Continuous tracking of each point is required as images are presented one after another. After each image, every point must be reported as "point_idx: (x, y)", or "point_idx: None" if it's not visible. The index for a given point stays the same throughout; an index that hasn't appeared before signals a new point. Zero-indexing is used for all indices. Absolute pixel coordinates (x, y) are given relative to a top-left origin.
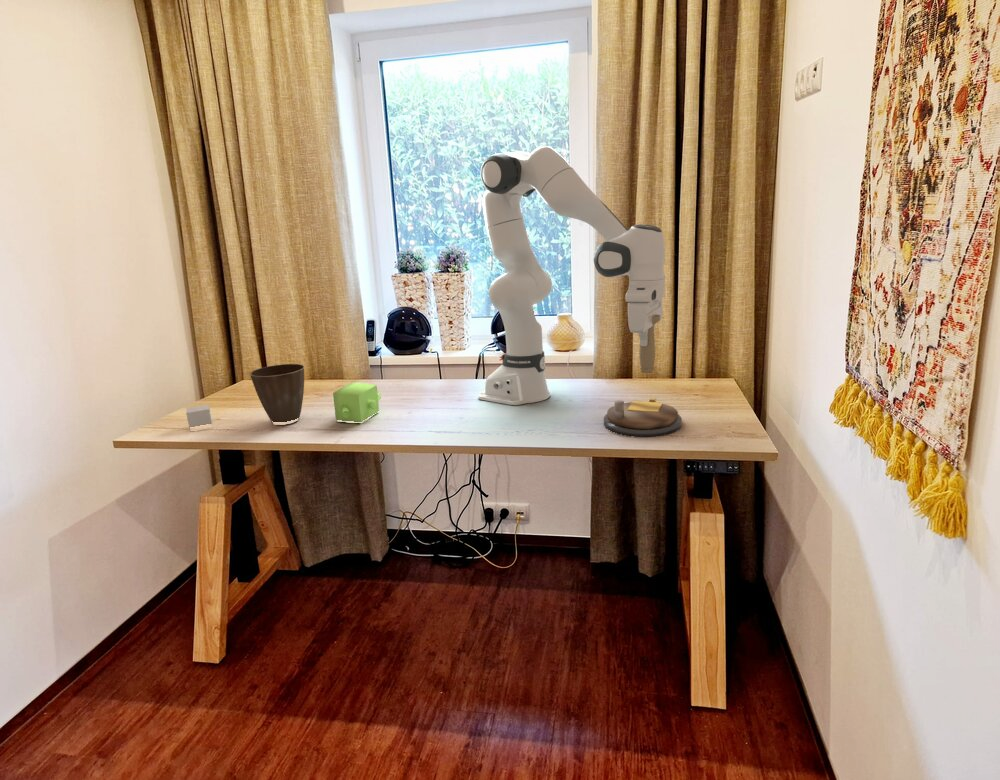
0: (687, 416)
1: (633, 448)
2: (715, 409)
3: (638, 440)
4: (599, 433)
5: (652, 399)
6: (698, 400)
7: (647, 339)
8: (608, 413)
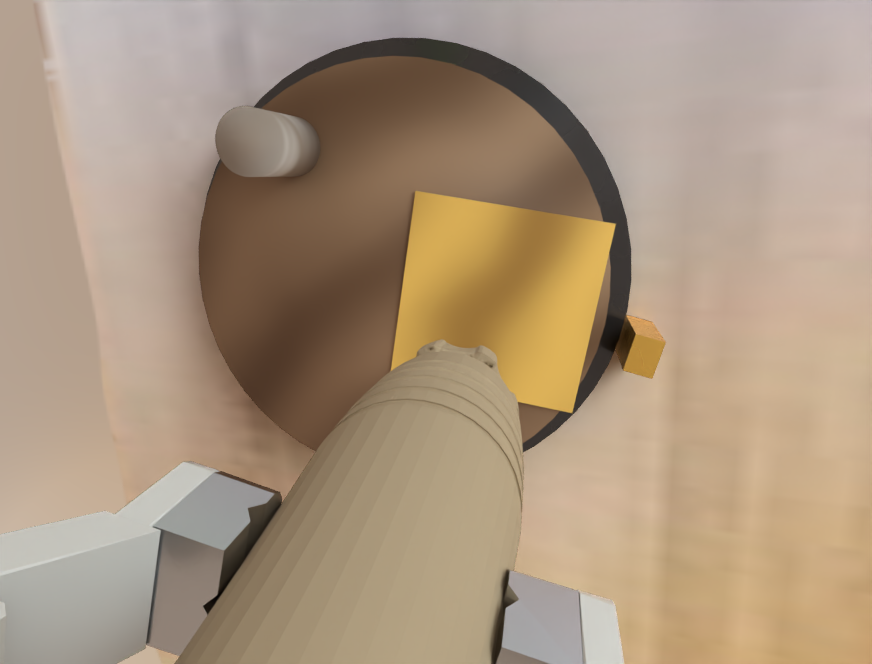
0: (544, 505)
1: (82, 231)
2: (662, 650)
3: (177, 253)
4: (239, 40)
5: (646, 356)
6: (850, 604)
7: (134, 635)
8: (345, 68)
